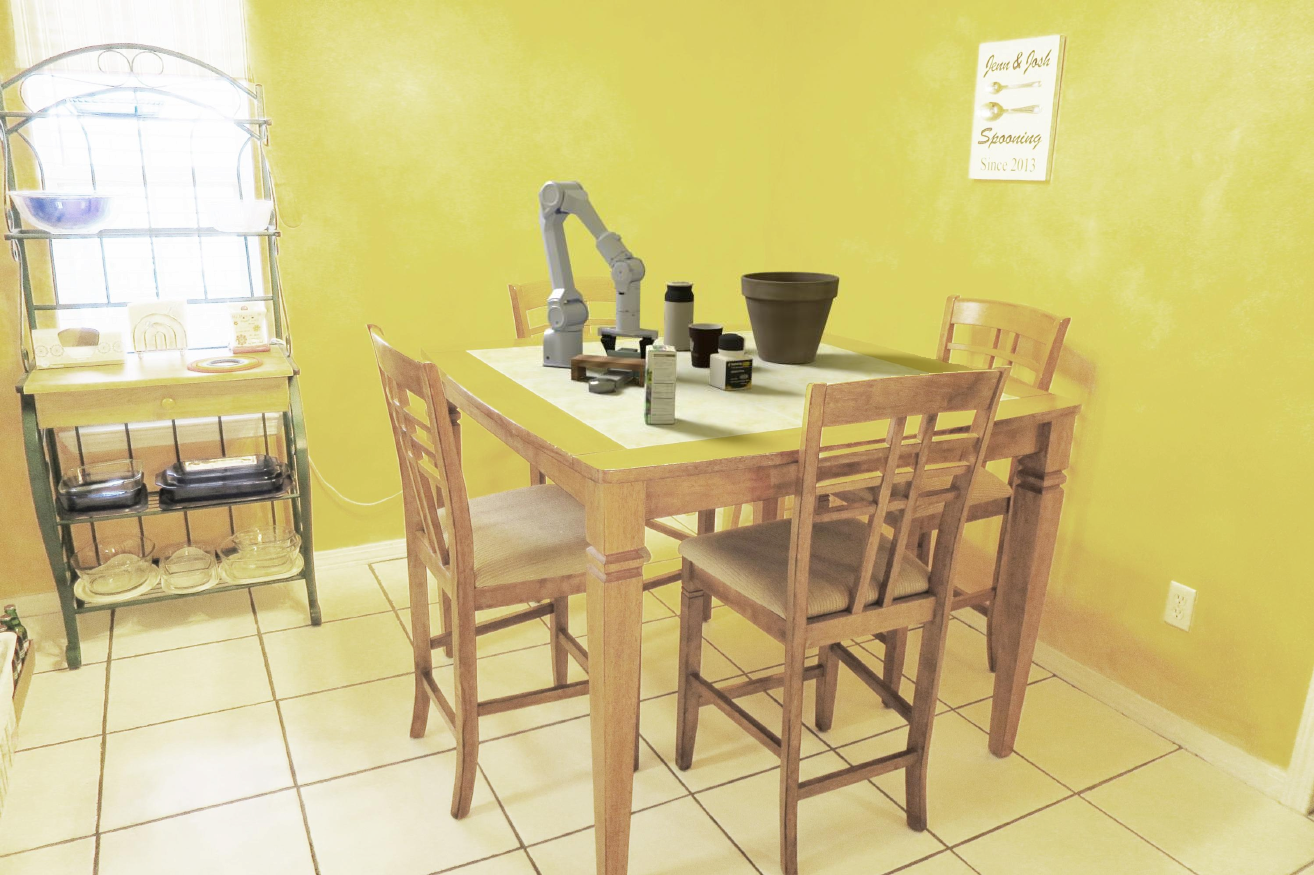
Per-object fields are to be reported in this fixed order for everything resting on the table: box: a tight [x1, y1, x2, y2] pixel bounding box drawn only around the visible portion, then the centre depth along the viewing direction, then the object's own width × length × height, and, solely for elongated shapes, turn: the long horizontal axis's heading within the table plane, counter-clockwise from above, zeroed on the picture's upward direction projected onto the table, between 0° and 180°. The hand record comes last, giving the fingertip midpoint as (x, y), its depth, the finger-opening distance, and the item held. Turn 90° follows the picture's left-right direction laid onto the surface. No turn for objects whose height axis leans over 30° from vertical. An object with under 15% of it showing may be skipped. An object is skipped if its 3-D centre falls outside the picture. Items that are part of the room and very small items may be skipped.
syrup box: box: [643, 344, 678, 425], centre depth 176 cm, size 6×6×14 cm
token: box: [588, 377, 617, 395], centre depth 201 cm, size 6×6×2 cm
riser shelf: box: [570, 353, 646, 387], centre depth 210 cm, size 18×6×5 cm, turn 74°
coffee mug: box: [689, 322, 724, 369], centre depth 230 cm, size 12×9×10 cm
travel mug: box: [663, 280, 695, 352], centre depth 248 cm, size 8×8×18 cm
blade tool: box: [596, 347, 641, 390], centre depth 211 cm, size 8×17×6 cm, turn 164°
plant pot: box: [740, 271, 840, 365], centre depth 237 cm, size 25×25×22 cm
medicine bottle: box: [708, 332, 754, 392], centre depth 206 cm, size 7×7×12 cm
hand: (627, 367), depth 218 cm, fingers open, 7 cm apart
